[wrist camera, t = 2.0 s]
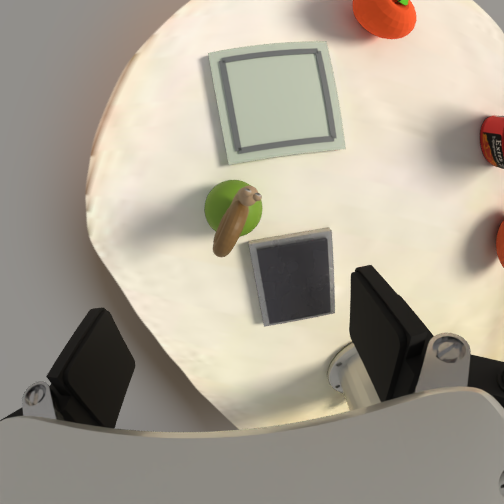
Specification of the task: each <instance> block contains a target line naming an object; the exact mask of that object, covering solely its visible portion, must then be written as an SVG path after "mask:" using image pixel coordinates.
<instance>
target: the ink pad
mask: <svg viewBox="0 0 504 504" xmlns="http://www.w3.org/2000/svg"><path fill="white" fill-rule="evenodd" d="M249 249H250V254H251V259H252V264H253V270H254V275H255V280H256V286H257V291H258V296H259V302H260V307H261V312H262V317H263V323H264V326H270V325H276V324H282V323H287V322H293V321H298V320H303V319H308V318H313V317H318V316H323V315H328V314H333V313H335V296H334V265H333V246H332V230H331V229H330V228H323V229H317V230H311V231H305V232H299V233H293V234H287V235H281V236H275V237H270V238H264V239H258V240H252V241H249Z"/></svg>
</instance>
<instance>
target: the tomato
mask: <svg viewBox="0 0 504 504" xmlns="http://www.w3.org/2000/svg"><path fill="white" fill-rule="evenodd" d="M496 249H497V255H498V258H499V260H500V263H501V264H502V266H503V267H504V220H503V222H502V223H501V225H500V227H499V230H498V234H497V239H496Z"/></svg>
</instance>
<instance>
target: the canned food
mask: <svg viewBox="0 0 504 504" xmlns="http://www.w3.org/2000/svg"><path fill="white" fill-rule="evenodd" d="M480 143H481V148H482V152H483V155H484V156H485V158H486V160H487V161H488V162H489V163H491V164H492V165H494V166H496V167H499V168H503V169H504V116H491V117H488V118H486V119H485V120H484V122H483V124H482V127H481V131H480Z"/></svg>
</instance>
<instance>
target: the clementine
mask: <svg viewBox="0 0 504 504" xmlns="http://www.w3.org/2000/svg"><path fill="white" fill-rule="evenodd" d="M353 12H354V15H355V17H356V19H357V21H358V22H359V23H360V24H361V26H362V27H363V28H365V29H366V30H367V31H368V32H370V33H372V34H373V35H375V36H378V37H381V38H387V39H398V38H402V37H404V36H406V35H408V34H409V33H410V32H411V31H412V30H413V29H414V26H415V23H416V12H415V8H414V6H413V4H412V2H411V1H410V0H353Z"/></svg>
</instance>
